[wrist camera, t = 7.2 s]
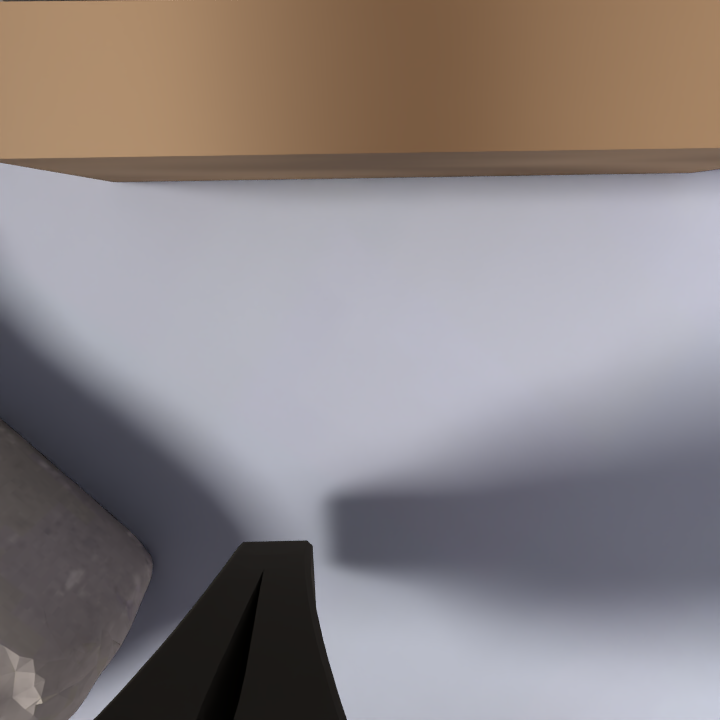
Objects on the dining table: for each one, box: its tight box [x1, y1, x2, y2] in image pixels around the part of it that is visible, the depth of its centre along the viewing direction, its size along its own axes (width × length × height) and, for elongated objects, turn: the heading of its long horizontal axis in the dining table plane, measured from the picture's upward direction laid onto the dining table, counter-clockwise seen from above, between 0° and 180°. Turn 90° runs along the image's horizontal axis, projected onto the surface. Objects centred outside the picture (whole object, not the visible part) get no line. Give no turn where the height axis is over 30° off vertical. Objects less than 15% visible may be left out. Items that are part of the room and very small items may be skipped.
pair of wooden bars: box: [0, 0, 720, 182], centre depth 9 cm, size 19×18×3 cm
